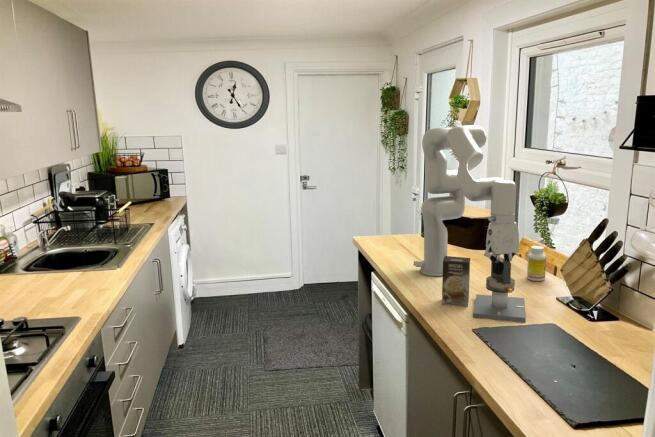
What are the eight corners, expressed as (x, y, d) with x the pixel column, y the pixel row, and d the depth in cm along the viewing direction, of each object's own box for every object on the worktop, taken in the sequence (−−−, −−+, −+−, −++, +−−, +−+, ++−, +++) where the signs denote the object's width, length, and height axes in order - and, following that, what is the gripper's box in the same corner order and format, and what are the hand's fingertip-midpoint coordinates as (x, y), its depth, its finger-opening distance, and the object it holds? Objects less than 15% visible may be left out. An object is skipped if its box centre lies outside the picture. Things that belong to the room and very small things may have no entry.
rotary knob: (481, 284, 176) (482, 256, 174) (506, 282, 177) (507, 254, 175) (496, 296, 165) (497, 266, 163) (523, 294, 166) (524, 264, 164)
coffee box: (441, 305, 180) (441, 260, 177) (443, 298, 186) (443, 255, 183) (468, 307, 177) (469, 262, 174) (469, 300, 183) (470, 257, 180)
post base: (473, 317, 168) (473, 296, 167) (476, 298, 185) (476, 278, 183) (525, 322, 163) (526, 300, 162) (524, 302, 180) (524, 282, 178)
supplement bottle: (546, 281, 199) (548, 249, 196) (528, 281, 200) (529, 249, 198) (543, 276, 205) (544, 245, 203) (525, 275, 207) (526, 244, 204)
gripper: (489, 223, 161) (487, 279, 165) (531, 217, 167) (529, 272, 170) (474, 219, 168) (473, 273, 172) (515, 214, 174) (513, 266, 177)
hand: (501, 272), depth 171 cm, fingers closed on rotary knob, 3 cm apart
